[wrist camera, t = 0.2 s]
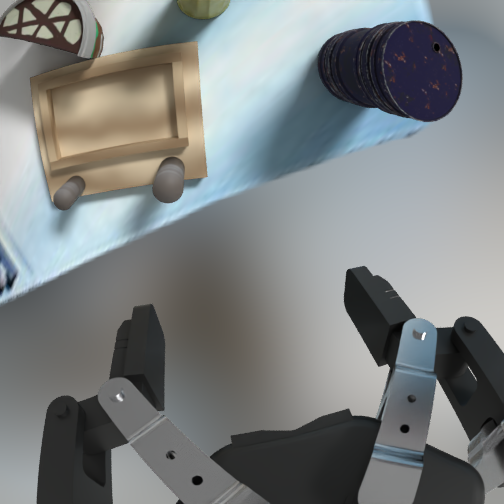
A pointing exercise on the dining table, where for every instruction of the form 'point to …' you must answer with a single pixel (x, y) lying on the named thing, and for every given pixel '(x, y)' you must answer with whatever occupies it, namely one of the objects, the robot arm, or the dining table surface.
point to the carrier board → (121, 123)
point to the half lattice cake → (55, 25)
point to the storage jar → (394, 69)
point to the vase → (203, 8)
